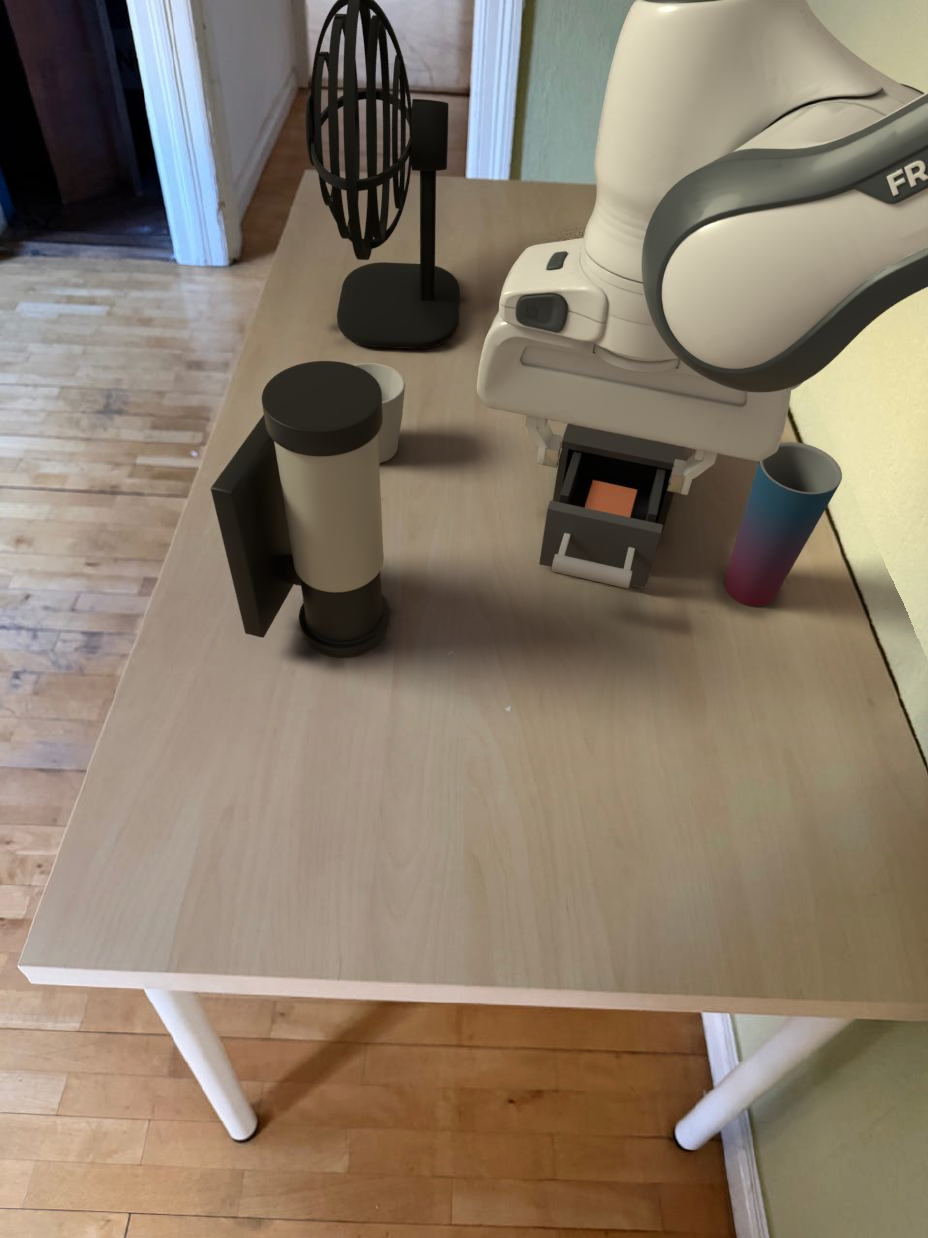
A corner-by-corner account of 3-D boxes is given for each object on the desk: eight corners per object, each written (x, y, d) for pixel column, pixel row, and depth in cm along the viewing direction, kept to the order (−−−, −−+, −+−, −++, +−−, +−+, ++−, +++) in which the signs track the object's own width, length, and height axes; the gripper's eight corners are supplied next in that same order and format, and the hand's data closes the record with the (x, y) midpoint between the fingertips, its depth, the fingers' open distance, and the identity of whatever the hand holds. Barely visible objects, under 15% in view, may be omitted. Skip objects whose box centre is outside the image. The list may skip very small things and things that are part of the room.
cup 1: (407, 470, 94) (406, 404, 88) (313, 472, 94) (305, 405, 87) (405, 427, 99) (404, 361, 93) (316, 428, 98) (309, 362, 92)
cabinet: (661, 535, 89) (682, 465, 82) (550, 511, 91) (561, 440, 84) (678, 449, 98) (697, 380, 92) (577, 428, 100) (589, 359, 93)
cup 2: (794, 580, 86) (852, 460, 74) (771, 624, 82) (828, 504, 70) (729, 552, 88) (775, 431, 77) (703, 594, 84) (748, 473, 73)
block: (629, 522, 87) (637, 489, 84) (621, 552, 85) (630, 518, 81) (586, 513, 88) (592, 479, 85) (577, 542, 85) (583, 508, 82)
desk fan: (337, 256, 124) (314, -46, 98) (460, 261, 125) (471, -39, 98) (313, 364, 107) (277, 31, 80) (457, 370, 107) (469, 40, 80)
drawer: (638, 624, 80) (654, 568, 75) (528, 598, 82) (536, 542, 76) (663, 498, 92) (679, 442, 86) (566, 477, 93) (575, 421, 88)
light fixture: (366, 683, 76) (347, 458, 57) (248, 654, 77) (193, 425, 59) (409, 586, 83) (405, 359, 65) (301, 561, 85) (267, 332, 66)
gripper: (828, 299, 53) (761, 476, 63) (501, 244, 56) (489, 421, 66) (826, 355, 49) (755, 534, 59) (474, 291, 52) (466, 472, 62)
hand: (612, 474), depth 63 cm, fingers open, 8 cm apart
